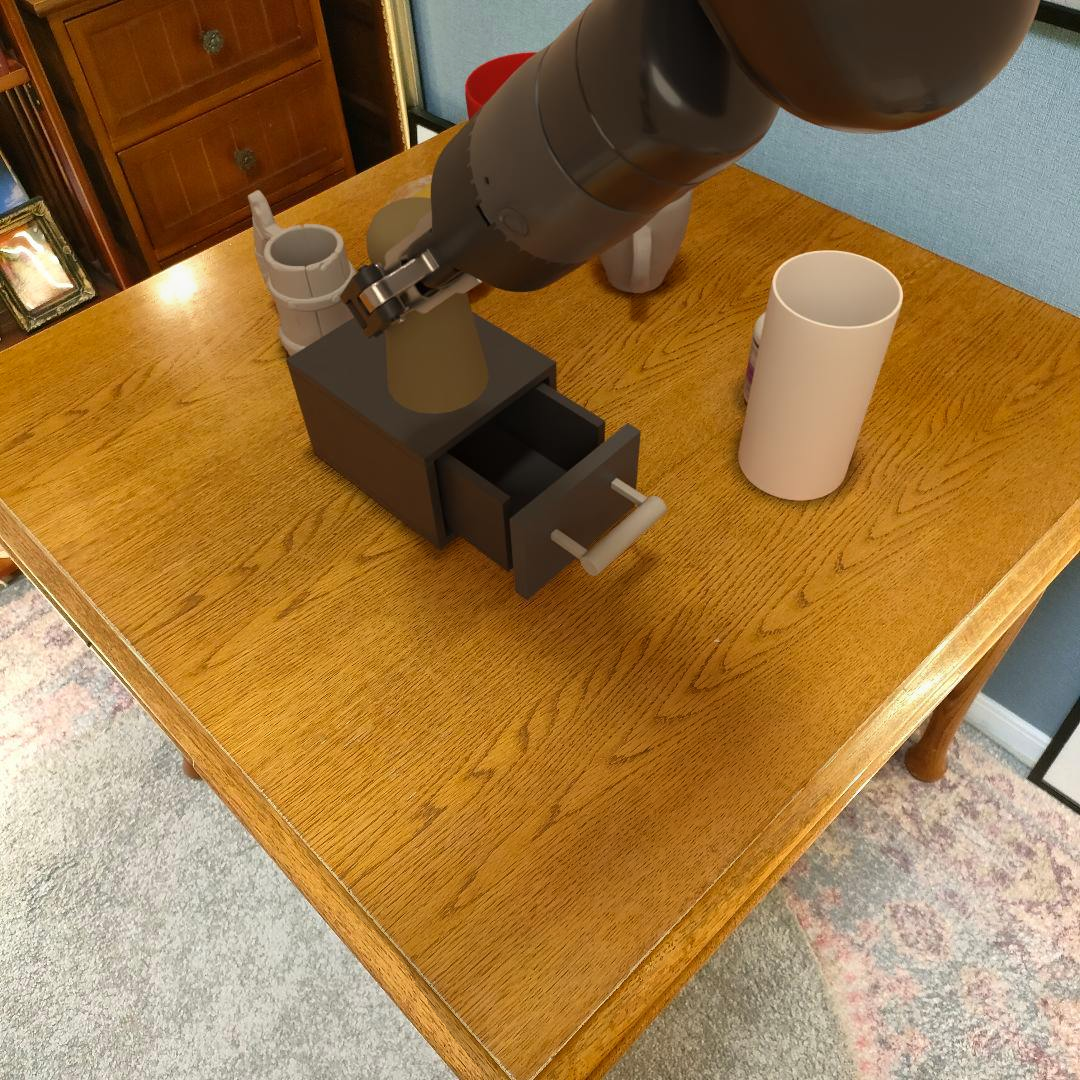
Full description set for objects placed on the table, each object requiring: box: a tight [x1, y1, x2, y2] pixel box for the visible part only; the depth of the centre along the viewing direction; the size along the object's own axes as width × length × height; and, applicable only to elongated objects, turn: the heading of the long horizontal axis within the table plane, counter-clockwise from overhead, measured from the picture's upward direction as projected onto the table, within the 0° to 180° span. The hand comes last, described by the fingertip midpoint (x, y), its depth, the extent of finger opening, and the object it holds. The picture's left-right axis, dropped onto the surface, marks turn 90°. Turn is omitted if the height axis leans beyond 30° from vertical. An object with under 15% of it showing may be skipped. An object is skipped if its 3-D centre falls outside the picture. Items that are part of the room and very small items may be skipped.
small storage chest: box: [285, 311, 558, 551], centre depth 71 cm, size 15×13×10 cm
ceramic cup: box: [464, 51, 539, 121], centre depth 96 cm, size 13×17×10 cm
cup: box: [737, 249, 904, 501], centre depth 67 cm, size 8×8×16 cm
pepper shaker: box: [365, 197, 489, 414], centre depth 52 cm, size 6×6×11 cm
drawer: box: [434, 382, 668, 602], centre depth 66 cm, size 18×11×8 cm, turn 47°
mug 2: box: [598, 189, 694, 294], centre depth 84 cm, size 12×9×10 cm
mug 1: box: [247, 189, 357, 357], centre depth 80 cm, size 8×12×12 cm, turn 45°
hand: (404, 294), depth 53 cm, fingers closed on pepper shaker, 5 cm apart
